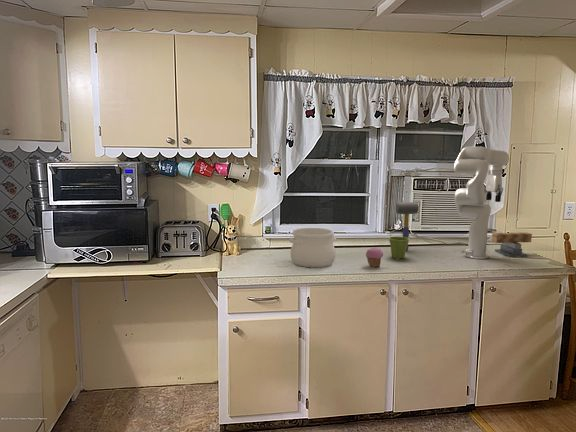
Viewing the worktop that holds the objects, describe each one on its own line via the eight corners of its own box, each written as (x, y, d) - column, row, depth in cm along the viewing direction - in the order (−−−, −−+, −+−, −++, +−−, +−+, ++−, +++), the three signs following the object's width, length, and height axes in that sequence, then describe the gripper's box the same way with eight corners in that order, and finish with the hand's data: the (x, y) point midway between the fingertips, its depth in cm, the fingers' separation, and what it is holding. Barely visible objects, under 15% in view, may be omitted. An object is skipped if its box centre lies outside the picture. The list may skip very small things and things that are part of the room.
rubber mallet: (412, 248, 264) (415, 201, 260) (417, 251, 257) (419, 202, 252) (393, 249, 263) (395, 201, 259) (397, 251, 256) (399, 202, 251)
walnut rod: (496, 242, 246) (497, 234, 246) (491, 241, 251) (492, 233, 250) (531, 242, 249) (531, 233, 248) (526, 240, 253) (526, 232, 253)
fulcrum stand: (509, 257, 244) (510, 244, 242) (494, 251, 257) (495, 239, 256) (527, 256, 245) (528, 244, 244) (511, 251, 259) (512, 239, 258)
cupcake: (385, 266, 223) (386, 247, 221) (376, 269, 217) (377, 250, 215) (371, 263, 229) (372, 245, 227) (362, 266, 223) (362, 247, 221)
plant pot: (411, 260, 236) (412, 240, 234) (390, 260, 236) (391, 240, 234) (405, 255, 248) (406, 236, 246) (385, 255, 248) (386, 236, 246)
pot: (296, 270, 214) (296, 236, 211) (283, 259, 237) (284, 228, 235) (343, 267, 221) (344, 234, 218) (327, 256, 244) (327, 226, 241)
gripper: (481, 172, 267) (479, 199, 269) (497, 173, 250) (495, 202, 252) (492, 172, 268) (490, 199, 270) (509, 173, 251) (507, 202, 253)
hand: (493, 200), depth 261 cm, fingers open, 9 cm apart
